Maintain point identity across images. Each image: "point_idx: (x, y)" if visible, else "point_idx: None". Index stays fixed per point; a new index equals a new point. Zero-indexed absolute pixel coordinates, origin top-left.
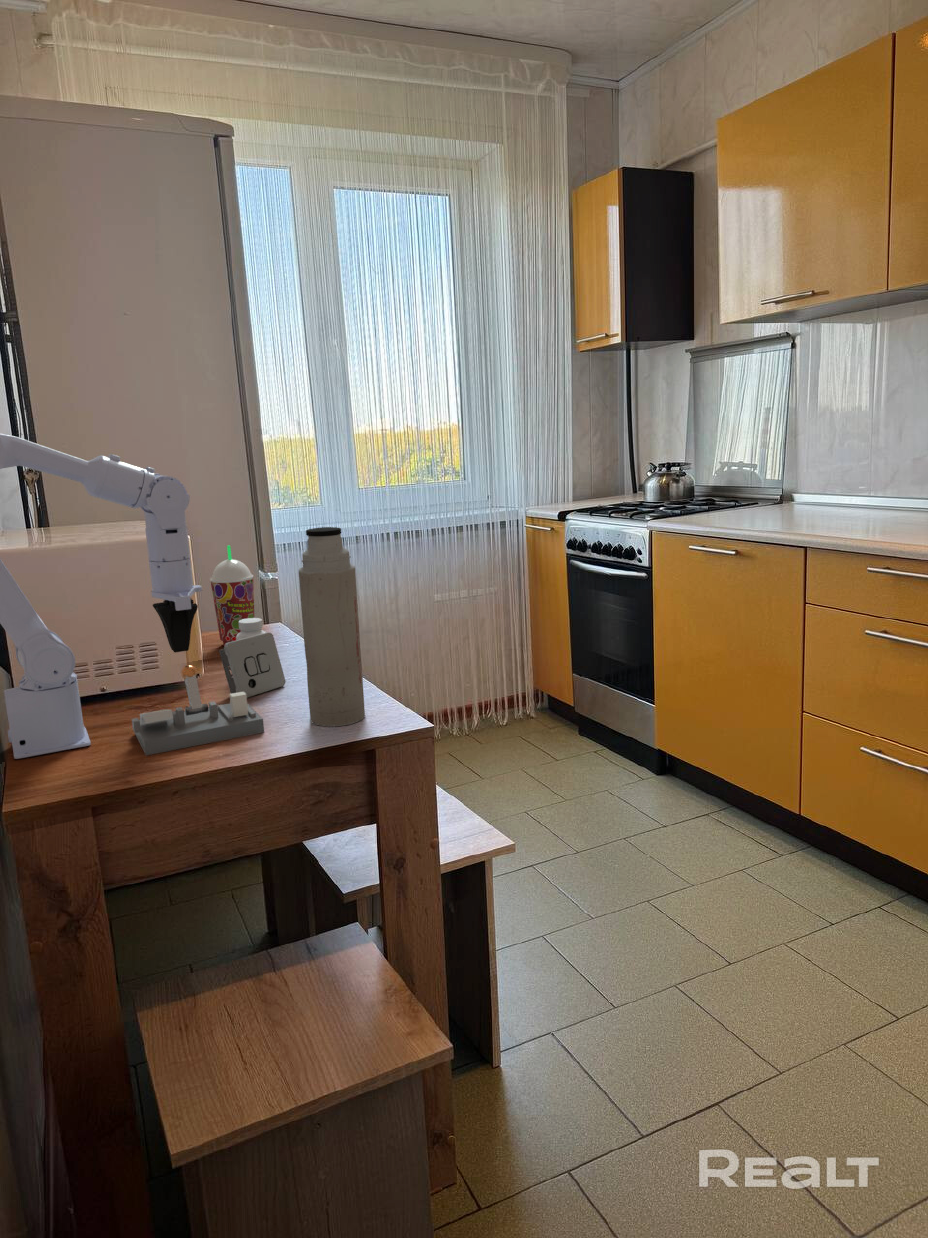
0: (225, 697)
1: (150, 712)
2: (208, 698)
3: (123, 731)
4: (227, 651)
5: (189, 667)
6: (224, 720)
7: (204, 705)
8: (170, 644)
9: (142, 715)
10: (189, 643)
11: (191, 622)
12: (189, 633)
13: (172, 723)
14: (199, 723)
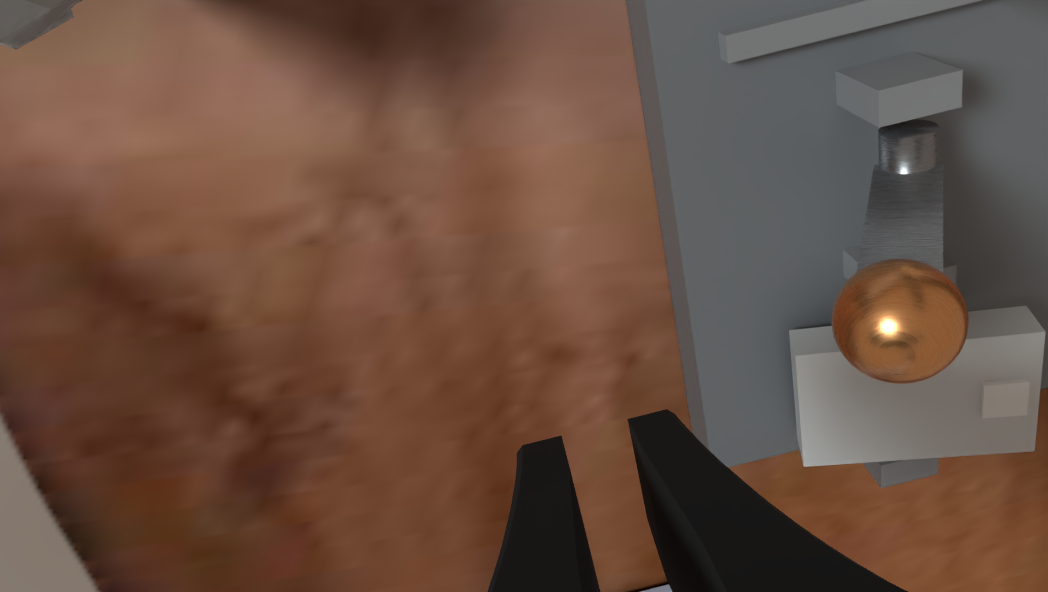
0: (167, 5)
1: (873, 424)
2: (166, 121)
3: (627, 478)
4: (69, 3)
5: (960, 337)
6: (983, 13)
7: (937, 150)
8: (598, 585)
9: (938, 453)
10: (692, 436)
11: (876, 579)
12: (768, 503)
13: None
14: (950, 158)
